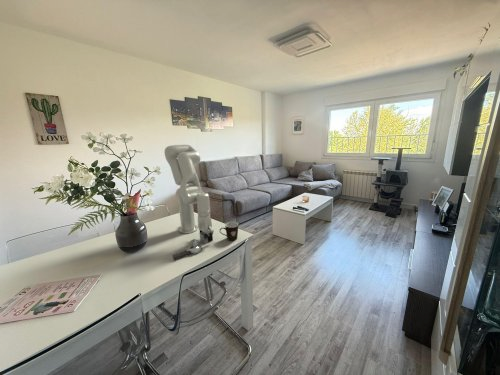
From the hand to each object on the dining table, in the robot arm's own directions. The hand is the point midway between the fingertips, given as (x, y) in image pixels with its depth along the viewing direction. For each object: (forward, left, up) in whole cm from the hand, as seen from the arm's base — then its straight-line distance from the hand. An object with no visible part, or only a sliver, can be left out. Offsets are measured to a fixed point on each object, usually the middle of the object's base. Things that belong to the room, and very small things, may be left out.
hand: (206, 238), depth 130 cm
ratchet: (+6, -15, -2) cm, 16 cm away
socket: (0, 0, -2) cm, 2 cm away
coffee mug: (+8, +13, -2) cm, 15 cm away
